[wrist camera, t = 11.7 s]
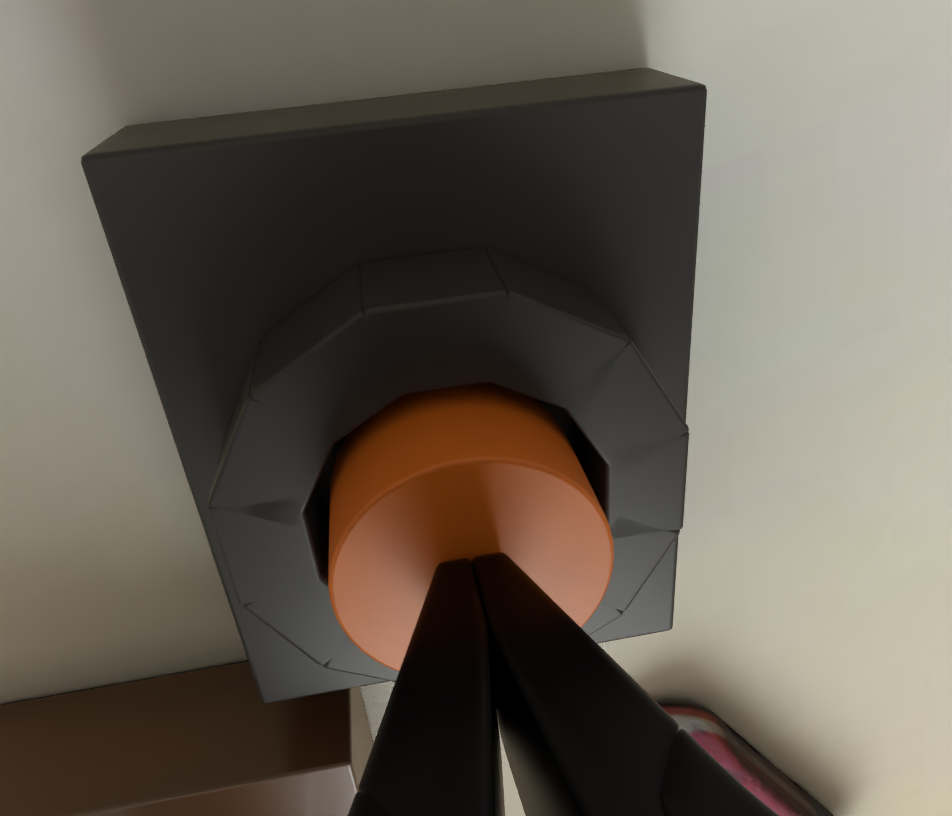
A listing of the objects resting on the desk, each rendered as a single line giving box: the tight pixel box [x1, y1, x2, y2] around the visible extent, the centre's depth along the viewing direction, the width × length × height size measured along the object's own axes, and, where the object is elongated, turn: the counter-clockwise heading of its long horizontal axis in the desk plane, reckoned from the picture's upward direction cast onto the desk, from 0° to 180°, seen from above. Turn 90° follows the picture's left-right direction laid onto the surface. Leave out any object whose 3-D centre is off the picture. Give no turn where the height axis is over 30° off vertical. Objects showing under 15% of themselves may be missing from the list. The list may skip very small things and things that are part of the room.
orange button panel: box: [81, 68, 707, 703], centre depth 12 cm, size 10×8×4 cm
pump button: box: [328, 382, 614, 671], centre depth 10 cm, size 4×4×2 cm
